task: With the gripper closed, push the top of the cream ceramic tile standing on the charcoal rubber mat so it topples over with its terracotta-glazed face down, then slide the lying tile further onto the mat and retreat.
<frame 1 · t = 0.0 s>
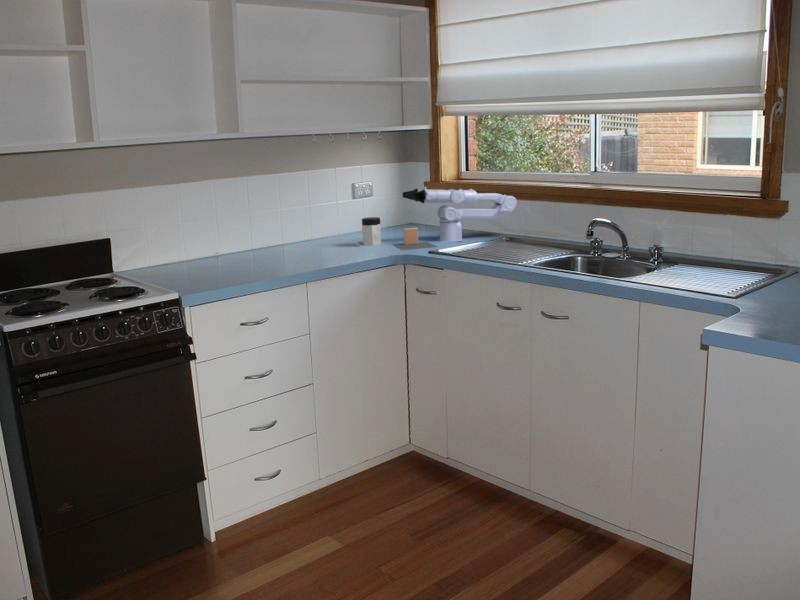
hand: (405, 195, 350), 22 cm above the worktop, tool horizontal, fingers open, 7 cm apart
mat: (414, 247, 347), on the worktop
jar: (372, 245, 359), on the worktop
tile: (411, 244, 352), point 1 cm above the worktop, touching mat
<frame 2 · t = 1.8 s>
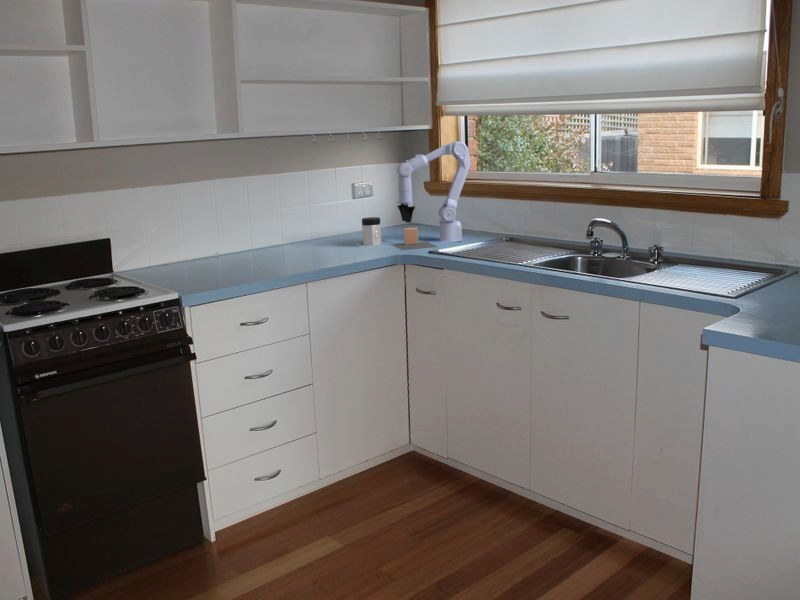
hand: (406, 221, 355), 10 cm above the worktop, tool pointing down, fingers open, 5 cm apart
nothing on the worktop moved.
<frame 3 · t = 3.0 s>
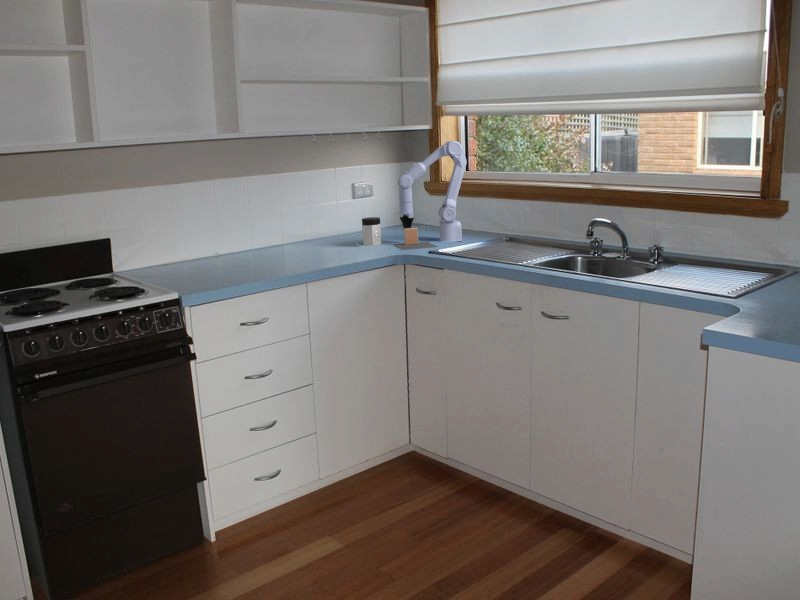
hand: (407, 232, 356), 5 cm above the worktop, tool pointing down, fingers closed
nothing on the worktop moved.
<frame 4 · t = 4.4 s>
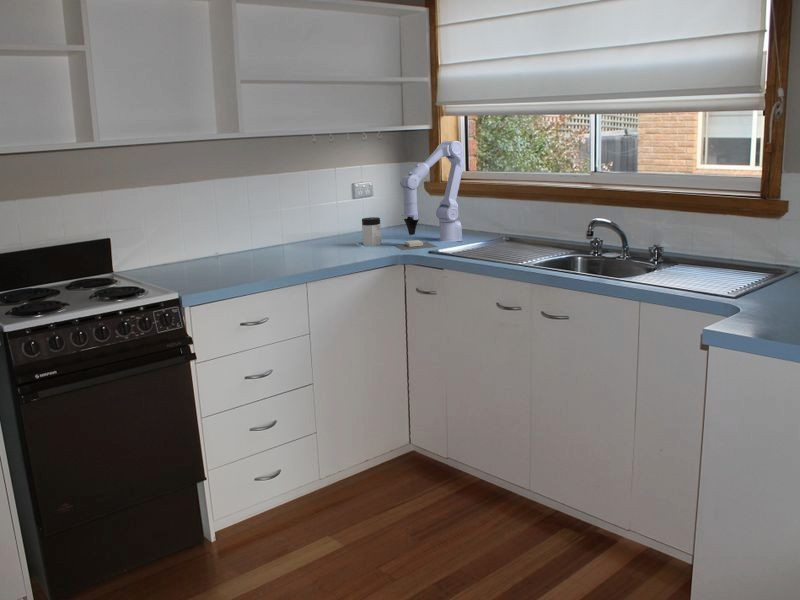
hand: (411, 234, 350), 5 cm above the worktop, tool pointing down, fingers closed
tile: (411, 242, 351), point 2 cm above the worktop, tilted 90°, touching mat
everything else where it was.
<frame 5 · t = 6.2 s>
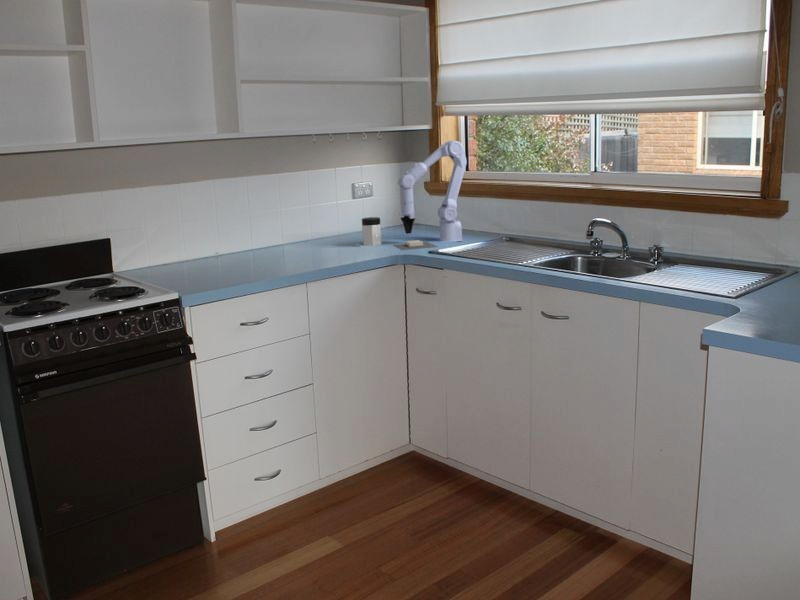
hand: (408, 233, 355), 5 cm above the worktop, tool pointing down, fingers closed
nothing on the worktop moved.
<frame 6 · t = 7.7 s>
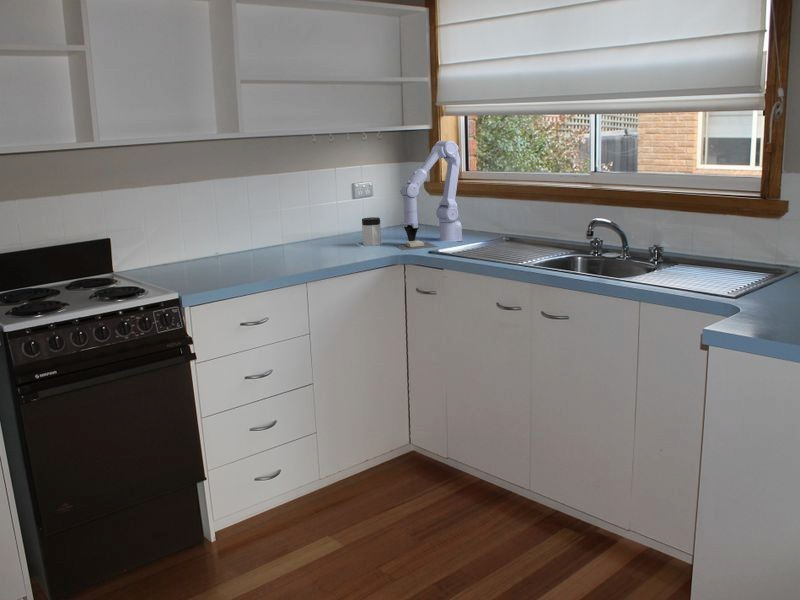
hand: (411, 242, 351), 1 cm above the worktop, tool pointing down, fingers closed
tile: (412, 242, 350), point 2 cm above the worktop, tilted 90°, touching gripper
everything else where it was.
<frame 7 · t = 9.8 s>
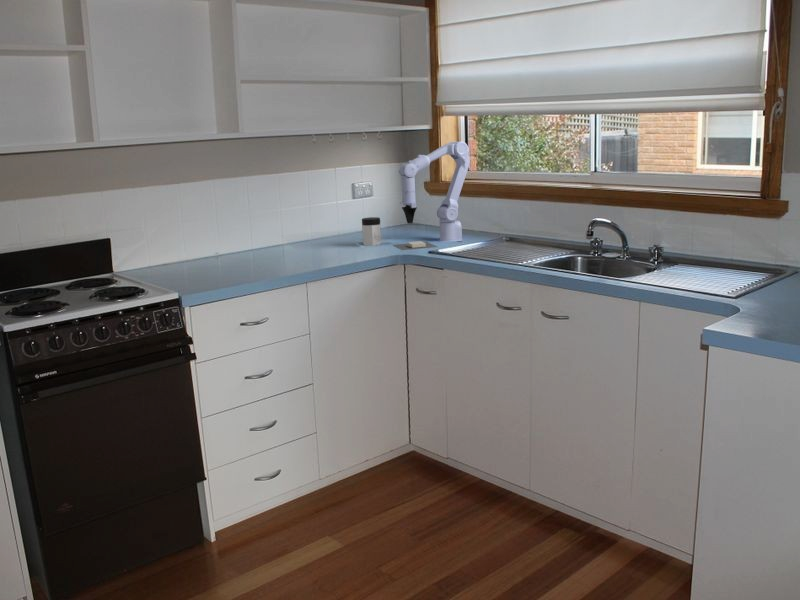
hand: (410, 222, 351), 10 cm above the worktop, tool pointing down, fingers closed
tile: (414, 243, 348), point 2 cm above the worktop, tilted 90°, touching mat
everything else where it was.
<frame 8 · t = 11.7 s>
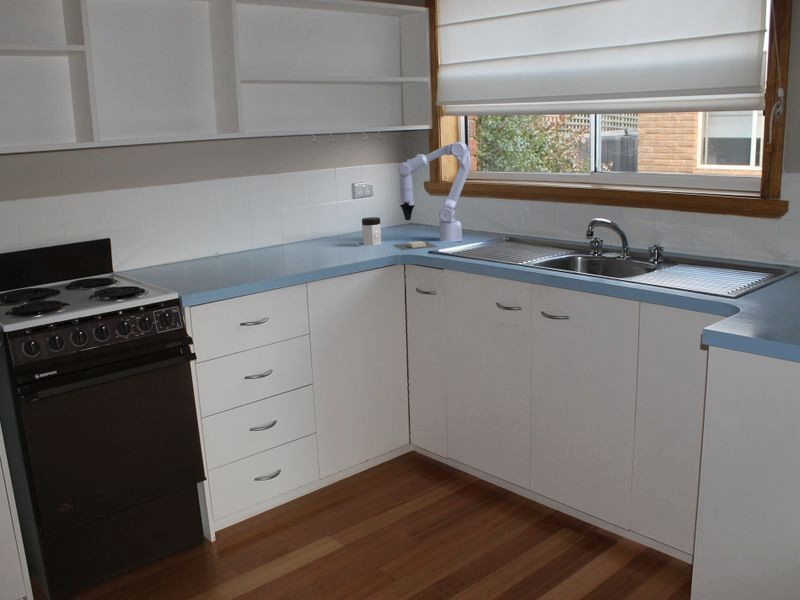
hand: (407, 220, 361), 10 cm above the worktop, tool pointing down, fingers closed
nothing on the worktop moved.
at the end: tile tilted 90°; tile inside the target area (1.6 cm from its centre), point 1.5 cm above the worktop; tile touching mat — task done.
